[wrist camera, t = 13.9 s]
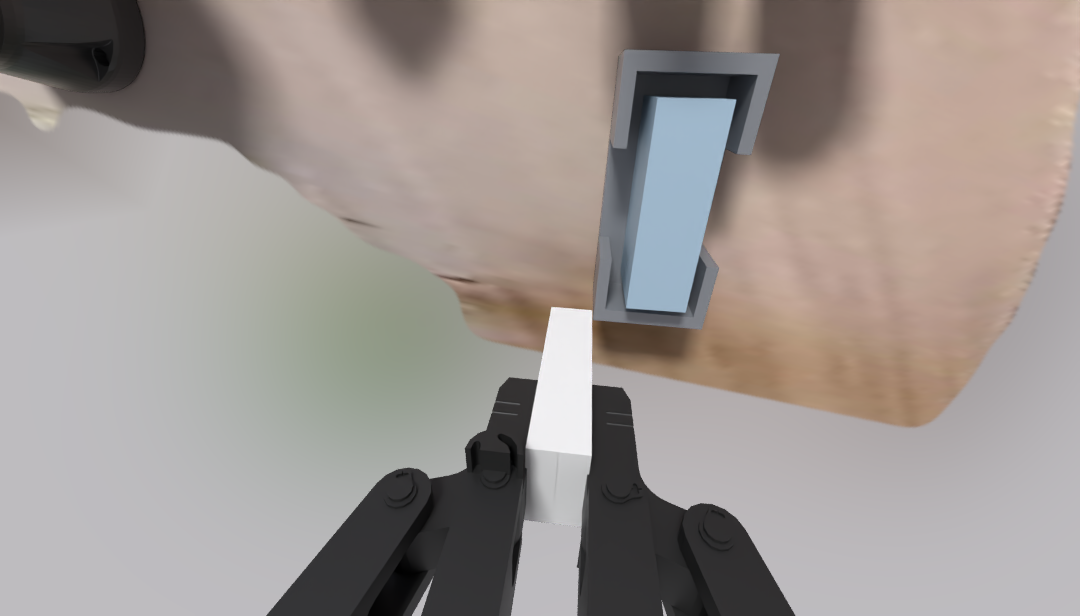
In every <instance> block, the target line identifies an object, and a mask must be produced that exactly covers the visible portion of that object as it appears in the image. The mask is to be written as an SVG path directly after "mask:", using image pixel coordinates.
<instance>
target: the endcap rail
mask: <svg viewBox="0 0 1080 616" xmlns="http://www.w3.org/2000/svg"><path fill="white" fill-rule="evenodd" d="M779 55H780V54H768V53H733V52H698V51H662V50H627V49H625V50H624V51H623V52H622V53H621V54H620V55H619V58H618V67H617V76H616V85H615V94H614V103H613V112H612V121H611V130H610V139H609V148H608V157H607V166H606V175H605V184H604V193H603V202H602V211H601V220H600V229H599V238H598V247H597V255H596V264H595V273H594V282H593V320H599V321H611V322H622V323H634V324H645V325H656V326H668V327H679V328H691V329H702V326H703V323H704V319H705V316H706V312H707V309H708V305H709V302H710V298H711V295H712V291H713V287H714V284H715V280H716V277H717V273H718V270H719V267H718V266H717V264H716V263H715V261H714V260H713V259H712V257H711V256H710V254H709V253H708V251H707V250H706V249H705V247H704V246H703V244H702V246H701V250H700V254H699V259H698V263H697V267H696V271H695V275H694V280H693V284H692V288H691V292H690V296H689V300H688V305H687V309H686V313H684V312H670V311H657V310H643V309H630V308H626V304H625V298H624V291H623V285H622V278H621V271H620V269H621V262H622V254H623V247H624V240H625V232H626V225H627V217H628V210H629V202H630V195H631V187H632V180H633V173H634V165H635V158H636V150H637V143H638V135H639V128H640V120H641V113H642V105H643V98H644V95H651V96H690V97H713V98H724V99H735V100H736V104H735V108H734V112H733V116H732V121H731V125H730V129H729V133H728V137H727V142H726V146H725V149H727V150H729V151H731V152H733V153H735V154H743V155H751V154H752V150H753V147H754V143H755V139H756V136H757V132H758V129H759V125H760V122H761V118H762V115H763V111H764V108H765V104H766V101H767V97H768V94H769V90H770V87H771V83H772V80H773V76H774V73H775V69H776V65H777V62H778V58H779ZM724 153H725V150H724ZM723 157H724V154H723ZM722 161H723V158H722ZM721 165H722V162H721ZM720 169H721V167H720ZM719 173H720V171H719ZM718 177H719V175H718ZM717 181H718V179H717ZM716 185H717V183H716ZM715 189H716V188H715ZM714 193H715V192H714ZM713 197H714V196H713ZM712 201H713V200H712ZM711 205H712V204H711ZM710 209H711V208H710Z"/></svg>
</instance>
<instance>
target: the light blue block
mask: <svg viewBox="0 0 1080 616" xmlns="http://www.w3.org/2000/svg"><path fill="white" fill-rule="evenodd" d="M735 104H736V100H735V99H724V98H713V97H690V96H651V95H644V98H643V105H642V113H641V120H640V128H639V135H638V143H637V150H636V158H635V165H634V173H633V180H632V187H631V195H630V202H629V210H628V217H627V225H626V232H625V240H624V247H623V254H622V262H621V269H620V271H621V278H622V285H623V291H624V298H625V304H626V308H630V309H643V310H657V311H670V312H684V313H686V309H687V305H688V300H689V296H690V292H691V288H692V284H693V280H694V275H695V271H696V267H697V263H698V259H699V254H700V250H701V246H702V242H703V238H704V234H705V229H706V225H707V221H708V217H709V213H710V208H711V204H712V200H713V196H714V192H715V188H716V183H717V179H718V175H719V171H720V167H721V162H722V158H723V154H724V150H725V146H726V142H727V137H728V133H729V129H730V125H731V121H732V116H733V112H734V108H735Z"/></svg>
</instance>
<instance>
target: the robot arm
mask: <svg viewBox="0 0 1080 616" xmlns="http://www.w3.org/2000/svg"><path fill="white" fill-rule="evenodd" d="M143 56H144V32H143V26H142V21H141V17H140V13H139V9H138V6H137V3H136V0H0V73H3V74H7V75H10V76H14V77H18V78H22V79H25V80H29V81H33V82H37V83H40V84H44V85H48V86H52V87H55V88H59V89H63V90H68V91H74V92H113V91H117V90H120V89H122V88H124V87H126V86H127V85H129V84H130V83H131V82H132V81H133V80H134V79H135V77H136V76H137V74H138V72H139V70H140V68H141V65H142V61H143ZM465 453H466V463H467V468H466V469H465V470H463V471H461V472H459V473H457V474H453V475H449V476H444V477H438V478H433V479H429V478H428V476H427V474H425V473H424V472H422V471H421V470H419V469H414V468H404V469H398V470H396V471H394V472H392V473H389V474H387V475H386V476H384V478H382V479H381V480H380V481H379V482H378V483H377V484H376V485H375V486H374V487H373V489H372V490H371V491H370V492H369V493H368V495H367V496H366V497H365V498H364V499H363V501H362V502H361V503H360V504H359V505H358V507H357V508H356V509H355V510H354V511H353V513H352V514H351V515H350V516H349V517H348V519H347V520H346V521H345V522H344V523H343V524H342V526H341V527H340V528H339V529H338V530H337V532H336V533H335V534H334V535H333V537H332V538H331V539H330V540H329V541H328V542H327V544H326V545H325V546H324V547H323V548H322V550H321V551H320V552H319V553H318V554H317V556H316V557H315V558H314V559H313V560H312V562H311V563H310V564H309V565H308V567H307V568H306V569H305V570H304V571H303V572H302V574H301V575H300V576H299V577H298V578H297V580H296V581H295V582H294V583H293V584H292V586H291V587H290V588H289V589H288V590H287V592H286V593H285V594H284V595H283V596H282V598H281V599H280V600H279V601H278V602H277V603H276V605H275V606H274V607H273V608H272V610H271V611H270V612H269V613H268V614H267V616H412V614H413V612H414V610H415V609H416V607H417V605H418V603H419V601H420V600H421V598H422V596H423V594H424V592H425V591H426V589H427V587H428V585H429V584H430V582H431V580H432V578H433V581H432V584H431V587H430V590H429V593H428V596H427V599H426V602H425V605H424V608H423V612H422V615H421V616H511V610H512V604H513V597H514V590H515V584H516V578H517V570H518V564H519V557H520V551H521V545H522V528H523V521H524V520H529V521H538V522H544V523H552V524H559V525H567V526H574V527H582V529H581V544H580V551H579V557H578V565H577V567H578V568H579V582H578V584H579V585H578V614H577V615H578V616H663V609H662V602H663V605H664V608H665V611H666V614H667V616H795V614H794V612H793V611H792V609H791V607H790V606H789V604H788V602H787V600H786V599H785V597H784V595H783V594H782V592H781V590H780V588H779V587H778V585H777V583H776V582H775V580H774V578H773V576H772V575H771V573H770V571H769V569H768V568H767V566H766V564H765V563H764V561H763V560H762V557H761V556H760V554H759V552H758V551H757V549H756V547H755V545H754V544H753V542H752V540H751V538H750V537H749V535H748V533H747V532H746V530H745V529H744V527H743V526H742V525H741V523H740V522H739V521H738V520H737V519H736V518H735V517H734V516H733V515H731V514H730V513H729V512H728V511H726V510H725V509H722V508H720V507H718V506H715V505H713V504H702V503H700V504H697V505H694V506H691V507H690V508H689V509H688V510H685V509H683V508H680V507H678V506H676V505H673V504H671V503H669V502H667V501H664V500H663V499H661V498H659V497H658V496H656V495H655V494H654V493H653V492H651V491H650V490H649V488H647V486H646V485H645V484H644V482H643V480H642V478H641V476H640V473H639V467H638V459H637V451H636V442H635V434H634V428H633V418H632V410H631V401H630V399H629V397H628V396H627V394H626V393H625V391H624V390H623V388H618V387H608V386H598V385H592V310H581V309H570V308H558V307H552V308H551V313H550V319H549V324H548V330H547V335H546V340H545V346H544V351H543V357H542V362H541V367H540V373H539V378H538V380H530V379H519V378H508V380H506V382H505V383H504V384H503V385H502V386H501V387H500V388H499V391H498V394H497V398H496V402H495V404H494V407H493V411H492V414H491V417H490V420H489V424H488V427H487V430H486V431H483V432H480V433H478V434H477V435H476V436H474V437H473V438H472V439H470V441H469V443H468V444H467V446H466V448H465ZM433 576H434V577H433ZM661 600H662V601H661Z"/></svg>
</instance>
